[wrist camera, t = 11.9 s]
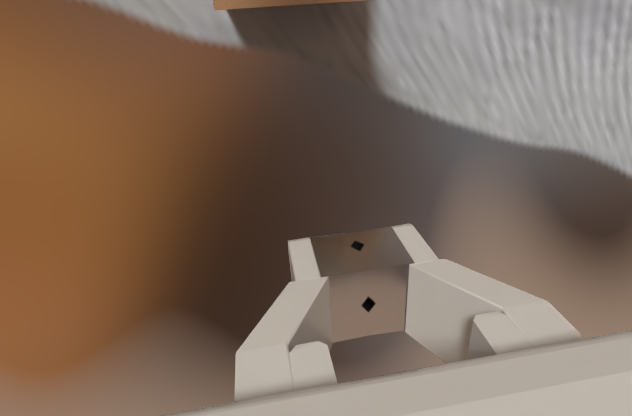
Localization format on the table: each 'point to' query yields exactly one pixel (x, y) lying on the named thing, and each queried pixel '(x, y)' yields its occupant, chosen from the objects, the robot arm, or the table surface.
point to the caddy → (267, 3)
